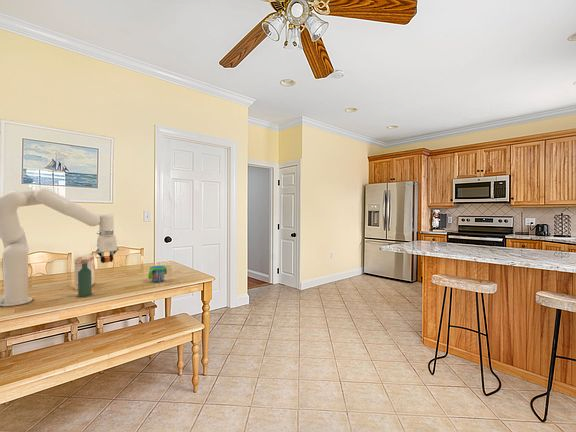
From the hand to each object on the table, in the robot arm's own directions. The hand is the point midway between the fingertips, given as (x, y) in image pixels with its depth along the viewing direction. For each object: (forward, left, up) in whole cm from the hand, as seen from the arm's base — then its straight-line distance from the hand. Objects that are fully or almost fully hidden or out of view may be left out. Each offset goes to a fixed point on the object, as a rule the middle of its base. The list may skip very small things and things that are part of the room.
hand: (106, 261), depth 177 cm
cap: (0, 0, 0) cm, 0 cm away
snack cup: (+30, -7, -18) cm, 35 cm away
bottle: (-13, -4, -17) cm, 22 cm away
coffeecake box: (-6, +17, -18) cm, 25 cm away
